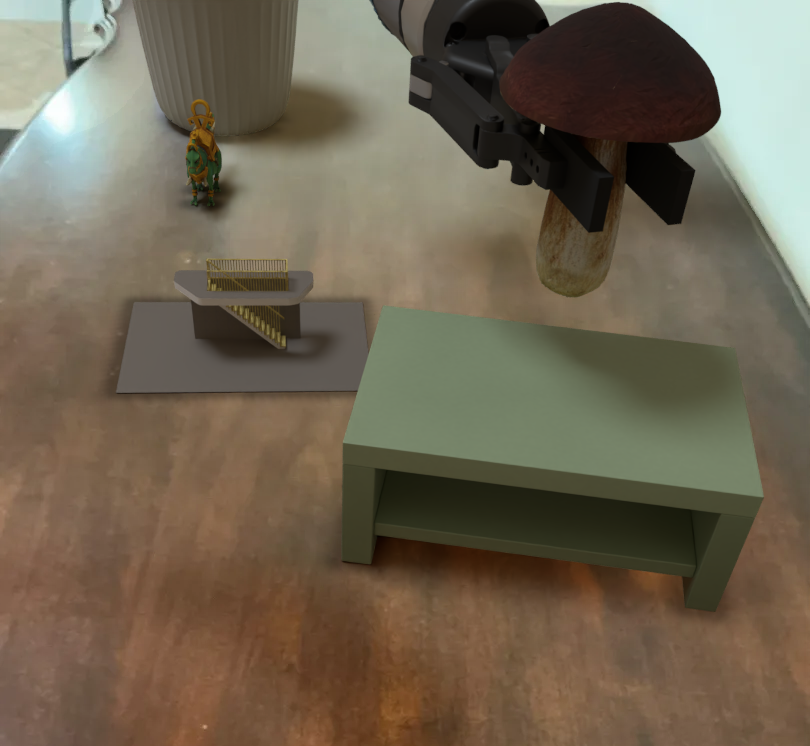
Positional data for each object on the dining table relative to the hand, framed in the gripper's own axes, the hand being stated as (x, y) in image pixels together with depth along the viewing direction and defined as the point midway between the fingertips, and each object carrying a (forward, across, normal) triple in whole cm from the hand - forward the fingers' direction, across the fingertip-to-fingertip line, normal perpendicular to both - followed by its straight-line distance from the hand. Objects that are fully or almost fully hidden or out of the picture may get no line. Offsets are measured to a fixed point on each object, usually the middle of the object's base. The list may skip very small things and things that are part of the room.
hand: (641, 201), depth 46 cm
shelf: (-2, +2, -21) cm, 21 cm away
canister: (-66, +11, -21) cm, 70 cm away
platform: (-24, +16, -21) cm, 35 cm away
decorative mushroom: (-5, 0, -8) cm, 10 cm away
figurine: (-50, +15, -21) cm, 56 cm away
